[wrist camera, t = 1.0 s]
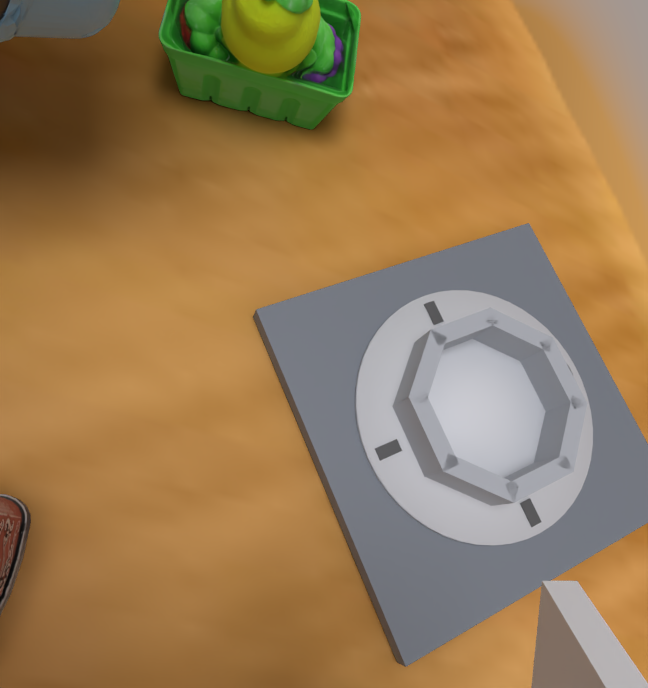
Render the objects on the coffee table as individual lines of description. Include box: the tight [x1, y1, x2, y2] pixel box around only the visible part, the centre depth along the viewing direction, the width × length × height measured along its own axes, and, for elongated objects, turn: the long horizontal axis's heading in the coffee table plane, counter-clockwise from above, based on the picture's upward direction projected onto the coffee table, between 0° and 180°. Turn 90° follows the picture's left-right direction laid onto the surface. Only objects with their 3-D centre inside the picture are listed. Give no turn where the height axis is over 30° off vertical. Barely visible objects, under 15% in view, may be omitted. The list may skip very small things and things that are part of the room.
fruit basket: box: [159, 0, 361, 129], centre depth 35 cm, size 11×9×11 cm
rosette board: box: [253, 223, 648, 667], centre depth 34 cm, size 20×20×4 cm
